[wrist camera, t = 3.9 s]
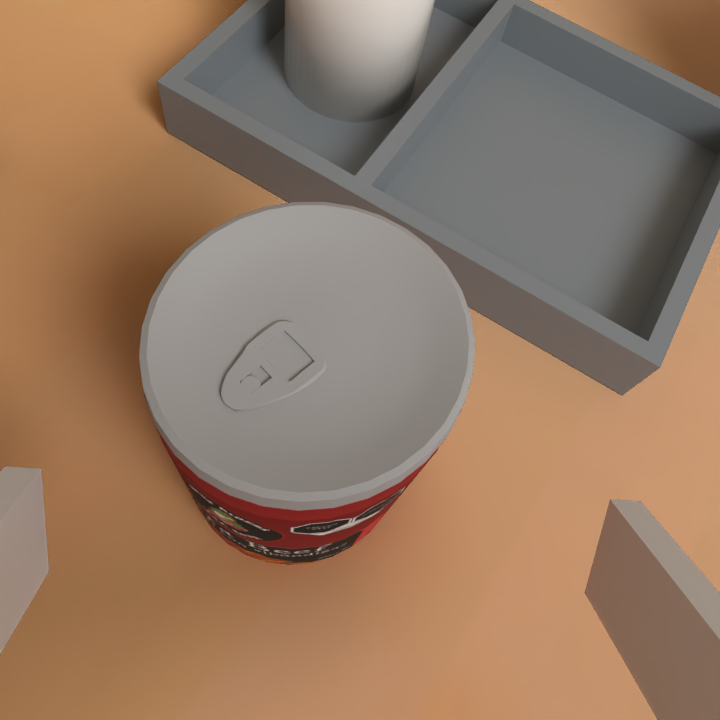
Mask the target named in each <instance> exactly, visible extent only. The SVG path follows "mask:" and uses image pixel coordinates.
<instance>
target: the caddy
mask: <svg viewBox="0 0 720 720" xmlns="http://www.w3.org/2000/svg"><path fill="white" fill-rule="evenodd" d="M284 40H285V0H247V1H246V2H245V3H244V4H243V5H242V6H241V7H240V8H238V9H237V10H236V11H235V12H234V13H233V14H232V15H231V16H229V17H228V18H227V19H226V20H225V21H224V22H223V23H222V24H220V25H219V26H218V27H217V28H216V29H215V30H214V31H213V32H212V33H210V34H209V35H208V36H207V37H206V38H205V39H204V40H203V41H201V42H200V43H199V44H198V45H197V46H196V47H195V48H194V49H192V50H191V51H190V52H189V53H188V54H187V55H186V56H185V57H183V58H182V59H181V60H180V61H179V62H178V63H177V64H176V65H174V66H173V67H172V68H171V69H170V70H169V71H168V72H167V73H166V74H164V75H163V76H162V77H161V78H160V79H159V80H158V81H157V85H158V89H159V94H160V99H161V104H162V109H163V114H164V119H165V123H166V128H167V132H168V133H170V134H171V135H173V136H175V137H177V138H178V139H180V140H182V141H184V142H185V143H187V144H189V145H190V146H192V147H194V148H196V149H197V150H199V151H201V152H203V153H204V154H206V155H208V156H209V157H211V158H213V159H215V160H216V161H218V162H220V163H222V164H223V165H225V166H227V167H228V168H230V169H232V170H234V171H235V172H237V173H239V174H241V175H242V176H244V177H246V178H247V179H249V180H251V181H253V182H254V183H256V184H258V185H260V186H261V187H263V188H265V189H266V190H268V191H270V192H272V193H273V194H275V195H277V196H279V197H280V198H282V199H284V200H285V201H287V202H289V203H292V202H328V203H335V204H341V205H348V206H354V207H357V208H360V209H363V210H366V211H369V212H372V213H375V214H378V215H381V216H383V217H385V218H387V219H389V220H391V221H393V222H395V223H397V224H399V225H400V226H402V227H404V228H406V229H408V230H409V231H410V232H411V233H413V234H414V235H415V236H417V237H418V238H419V239H421V240H422V241H423V242H425V243H426V244H427V245H429V247H430V248H431V249H432V250H433V251H434V252H435V253H436V254H437V255H438V256H439V258H440V259H441V260H442V261H443V262H444V263H445V264H446V265H447V266H448V268H449V270H450V271H451V273H452V275H453V276H454V278H455V280H456V281H457V283H458V284H459V286H460V288H461V289H462V292H463V294H464V297H465V300H466V303H467V306H469V307H470V308H472V309H474V310H475V311H477V312H479V313H481V314H482V315H484V316H486V317H488V318H489V319H491V320H493V321H494V322H496V323H498V324H500V325H501V326H503V327H505V328H507V329H508V330H510V331H512V332H513V333H515V334H517V335H519V336H520V337H522V338H524V339H526V340H527V341H529V342H531V343H532V344H534V345H536V346H538V347H539V348H541V349H543V350H545V351H546V352H548V353H550V354H551V355H553V356H555V357H557V358H558V359H560V360H562V361H564V362H565V363H567V364H569V365H570V366H572V367H574V368H576V369H577V370H579V371H581V372H583V373H584V374H586V375H588V376H589V377H591V378H593V379H595V380H596V381H598V382H600V383H602V384H603V385H605V386H607V387H608V388H610V389H612V390H614V391H615V392H617V393H619V394H621V395H624V394H625V393H626V392H628V391H629V390H630V389H632V388H633V387H634V386H636V385H637V384H638V383H640V382H641V381H642V380H644V379H645V378H647V377H648V376H649V375H651V374H652V373H653V372H655V371H656V370H657V369H659V368H660V367H661V364H662V362H663V360H664V357H665V355H666V352H667V350H668V348H669V345H670V343H671V341H672V338H673V336H674V334H675V331H676V329H677V327H678V324H679V322H680V319H681V317H682V315H683V312H684V310H685V308H686V305H687V303H688V301H689V298H690V296H691V294H692V291H693V289H694V286H695V284H696V282H697V279H698V277H699V275H700V272H701V270H702V268H703V265H704V263H705V261H706V258H707V256H708V253H709V251H710V249H711V246H712V244H713V242H714V239H715V237H716V235H717V232H718V230H719V228H720V97H719V96H717V95H715V94H713V93H711V92H709V91H708V90H706V89H704V88H702V87H700V86H698V85H696V84H694V83H692V82H690V81H688V80H686V79H684V78H682V77H680V76H678V75H676V74H674V73H672V72H670V71H668V70H666V69H664V68H662V67H660V66H658V65H656V64H654V63H652V62H650V61H648V60H646V59H644V58H642V57H640V56H638V55H636V54H634V53H632V52H630V51H628V50H626V49H624V48H623V47H621V46H619V45H617V44H615V43H613V42H611V41H609V40H607V39H605V38H603V37H601V36H599V35H597V34H595V33H593V32H591V31H589V30H587V29H585V28H583V27H581V26H579V25H577V24H575V23H573V22H571V21H569V20H567V19H565V18H563V17H561V16H559V15H557V14H555V13H553V12H551V11H549V10H547V9H545V8H543V7H541V6H540V5H538V4H536V3H534V2H532V1H530V0H435V2H434V6H433V10H432V14H431V18H430V22H429V26H428V30H427V34H426V39H425V43H424V47H423V51H422V55H421V59H420V63H419V67H418V71H417V75H416V79H415V83H414V87H413V91H412V94H411V96H410V98H409V100H408V101H407V102H406V104H405V105H404V106H403V107H402V108H401V109H399V110H398V111H397V112H395V113H394V114H392V115H390V116H388V117H385V118H383V119H380V120H376V121H371V122H360V123H354V122H344V121H338V120H334V119H330V118H328V117H325V116H322V115H320V114H318V113H316V112H314V111H312V110H311V109H309V108H308V107H306V106H305V105H304V104H303V103H301V102H300V101H299V100H298V99H297V98H296V97H295V95H294V94H293V93H292V91H291V90H290V88H289V86H288V84H287V82H286V79H285V74H284Z"/></svg>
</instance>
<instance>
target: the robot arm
mask: <svg viewBox="0 0 720 720" xmlns="http://www.w3.org/2000/svg"><path fill="white" fill-rule="evenodd" d="M48 573H49V563H48V550H47V537H46V523H45V510H44V497H43V484H42V471H41V468H23V467H4V468H3V469H2V470H1V471H0V654H1V652H2V650H3V649H4V647H5V645H6V644H7V642H8V640H9V639H10V637H11V635H12V634H13V632H14V630H15V628H16V627H17V625H18V623H19V622H20V620H21V618H22V617H23V615H24V613H25V612H26V610H27V608H28V606H29V605H30V603H31V601H32V600H33V598H34V596H35V595H36V593H37V591H38V590H39V588H40V586H41V584H42V583H43V581H44V579H45V578H46V576H47V574H48ZM585 594H586V596H587V597H588V599H589V601H590V603H591V604H592V606H593V608H594V610H595V611H596V613H597V615H598V617H599V618H600V620H601V622H602V624H603V625H604V627H605V629H606V630H607V632H608V634H609V636H610V637H611V639H612V641H613V643H614V644H615V646H616V648H617V650H618V651H619V653H620V655H621V657H622V658H623V660H624V662H625V664H626V665H627V667H628V669H629V671H630V672H631V674H632V676H633V678H634V679H635V681H636V683H637V684H638V686H639V688H640V690H641V691H642V693H643V695H644V697H645V698H646V700H647V702H648V704H649V705H650V707H651V709H652V711H653V712H654V714H655V716H656V718H657V719H658V720H720V593H719V592H718V591H717V590H716V588H715V587H714V586H713V585H712V584H711V583H710V581H709V580H708V579H707V578H706V577H705V576H704V574H703V573H702V572H701V571H700V570H699V569H698V567H697V566H696V565H695V564H694V563H693V562H692V560H691V559H690V558H689V557H688V556H687V555H686V554H685V552H684V551H683V550H682V549H681V548H680V547H679V545H678V544H677V543H676V542H675V541H674V540H673V538H672V537H671V536H670V535H669V534H668V533H667V531H666V530H665V529H664V528H663V527H662V526H661V524H660V523H659V522H658V521H657V520H656V519H655V517H654V516H653V515H652V514H651V513H650V512H649V510H648V509H647V508H646V507H645V506H644V505H643V503H642V502H641V501H630V500H611V499H610V502H609V505H608V509H607V513H606V516H605V520H604V524H603V528H602V531H601V535H600V539H599V542H598V546H597V550H596V553H595V557H594V561H593V564H592V568H591V572H590V575H589V579H588V583H587V586H586V590H585Z"/></svg>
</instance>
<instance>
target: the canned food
mask: <svg viewBox="0 0 720 720" xmlns="http://www.w3.org/2000/svg"><path fill="white" fill-rule="evenodd" d="M474 355H475V338H474V331H473V324H472V317H471V314H470V311H469V308H468V306H467V303H466V300H465V297H464V294H463V292H462V289H461V288H460V286H459V284H458V283H457V281H456V280H455V278H454V276H453V275H452V273H451V271H450V270H449V268H448V266H447V265H446V264H445V263H444V262H443V261H442V260H441V259H440V258H439V256H438V255H437V254H436V253H435V252H434V251H433V250H432V249H431V248H430V247H429V245H427V244H426V243H425V242H423V241H422V240H421V239H419V238H418V237H417V236H415V235H414V234H413V233H411V232H410V231H409V230H408V229H406V228H404V227H402V226H400V225H399V224H397V223H395V222H393V221H391V220H389V219H387V218H385V217H383V216H381V215H378V214H375V213H372V212H369V211H366V210H363V209H360V208H357V207H354V206H348V205H341V204H335V203H328V202H292V203H286V204H280V205H274V206H268V207H264V208H261V209H258V210H255V211H252V212H249V213H246V214H243V215H240V216H237V217H235V218H233V219H231V220H229V221H227V222H225V223H224V224H222V225H220V226H218V227H216V228H214V229H212V230H210V231H209V232H208V233H207V234H205V235H204V236H203V237H201V238H200V239H199V240H198V241H196V242H195V243H194V244H192V245H191V246H190V247H189V248H187V249H186V250H185V251H184V253H183V254H182V255H181V256H180V257H179V258H178V259H177V260H176V262H175V263H174V264H173V265H172V266H171V267H170V268H169V270H168V271H167V272H166V273H165V275H164V277H163V279H162V280H161V282H160V284H159V286H158V287H157V289H156V291H155V292H154V294H153V296H152V298H151V300H150V303H149V306H148V309H147V313H146V316H145V319H144V322H143V325H142V330H141V341H140V351H139V362H140V369H141V377H142V384H143V389H144V396H145V400H146V403H147V405H148V408H149V411H150V413H151V416H152V418H153V421H154V424H155V426H156V429H157V430H158V432H159V434H160V437H161V439H162V442H163V444H164V446H165V448H166V449H167V451H168V453H169V455H170V457H171V458H172V460H173V462H174V464H175V466H176V467H177V469H178V471H179V473H180V475H181V477H182V478H183V480H184V482H185V484H186V486H187V487H188V489H189V491H190V493H191V495H192V496H193V498H194V500H195V502H196V504H197V505H198V507H199V509H200V511H201V513H202V514H203V516H204V517H205V519H206V520H207V522H208V523H209V525H210V526H211V528H212V529H213V530H214V531H215V532H216V533H217V534H218V535H219V536H220V537H221V538H222V539H223V540H224V541H225V542H227V543H228V544H229V545H231V546H232V547H234V548H236V549H237V550H239V551H241V552H242V553H244V554H246V555H248V556H251V557H254V558H257V559H260V560H263V561H266V562H271V563H280V564H288V565H291V564H302V563H312V562H315V561H319V560H322V559H325V558H329V557H332V556H334V555H336V554H338V553H340V552H342V551H344V550H346V549H348V548H350V547H351V546H353V545H354V544H355V543H357V542H358V541H359V540H360V539H362V538H363V537H364V536H365V535H367V534H368V533H369V532H370V531H371V530H372V529H373V527H374V526H375V525H376V524H377V523H378V522H379V520H380V519H381V518H382V517H383V516H384V514H385V513H386V512H387V511H388V510H389V508H390V507H391V506H392V505H393V503H394V502H395V501H396V500H397V499H398V497H399V496H400V495H401V494H402V493H403V491H404V490H405V489H406V488H407V487H408V485H409V484H410V483H411V482H412V481H413V479H414V478H415V477H416V476H417V474H418V473H419V472H420V471H421V470H422V468H423V467H424V466H425V465H426V464H427V462H428V461H429V460H430V459H431V458H432V456H433V455H434V454H435V453H436V451H437V450H438V448H439V446H440V445H441V444H442V443H443V441H444V440H445V439H446V437H447V436H448V434H449V432H450V430H451V428H452V426H453V425H454V423H455V421H456V419H457V417H458V415H459V414H460V412H461V409H462V406H463V404H464V402H465V399H466V396H467V392H468V389H469V385H470V382H471V379H472V375H473V369H474Z"/></svg>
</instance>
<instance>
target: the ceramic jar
mask: <svg viewBox="0 0 720 720" xmlns="http://www.w3.org/2000/svg"><path fill="white" fill-rule="evenodd" d="M434 2H435V0H285V40H284V74H285V79H286V82H287V84H288V86H289V88H290V90H291V91H292V93H293V94H294V95H295V97H296V98H297V99H298V100H299V101H300V102H301V103H303V104H304V105H305V106H306V107H308V108H309V109H311V110H312V111H314V112H316V113H318V114H320V115H322V116H325V117H328V118H330V119H334V120H338V121H344V122H354V123H360V122H371V121H376V120H380V119H383V118H385V117H388V116H390V115H392V114H394V113H395V112H397V111H398V110H399V109H401V108H402V107H403V106H404V105H405V104H406V102H407V101H408V100H409V98H410V96H411V94H412V91H413V87H414V83H415V79H416V75H417V71H418V67H419V63H420V59H421V55H422V51H423V47H424V43H425V39H426V34H427V30H428V26H429V22H430V18H431V14H432V10H433V6H434Z"/></svg>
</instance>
